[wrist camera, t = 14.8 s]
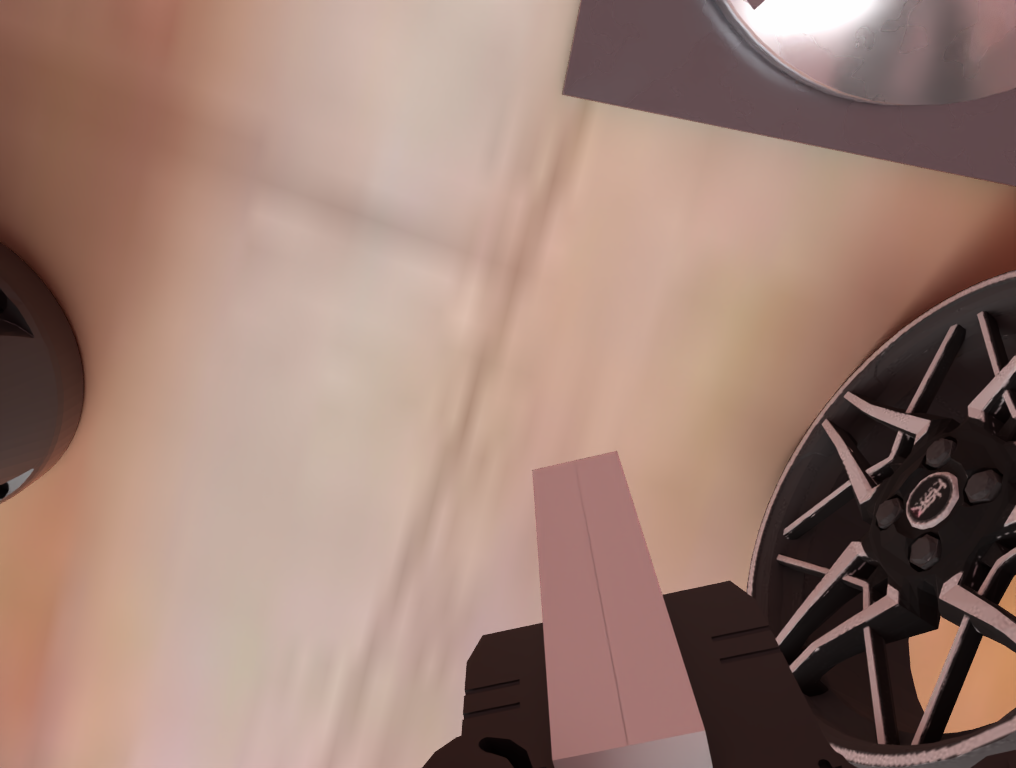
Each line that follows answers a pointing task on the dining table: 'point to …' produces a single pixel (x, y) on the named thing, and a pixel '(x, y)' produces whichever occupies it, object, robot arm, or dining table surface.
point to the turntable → (886, 46)
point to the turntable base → (770, 91)
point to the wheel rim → (901, 534)
